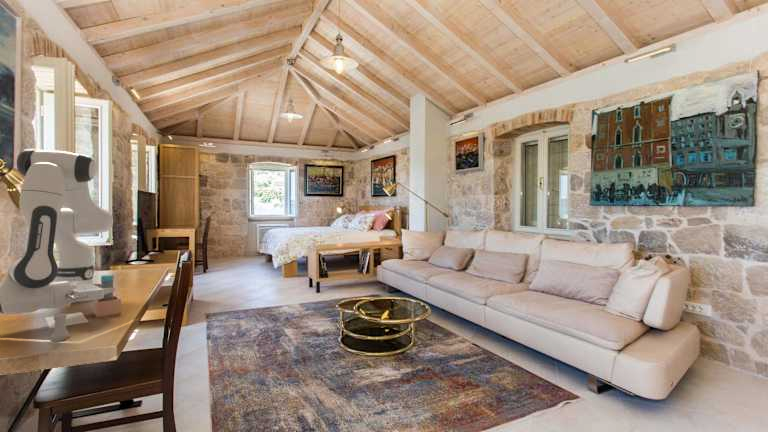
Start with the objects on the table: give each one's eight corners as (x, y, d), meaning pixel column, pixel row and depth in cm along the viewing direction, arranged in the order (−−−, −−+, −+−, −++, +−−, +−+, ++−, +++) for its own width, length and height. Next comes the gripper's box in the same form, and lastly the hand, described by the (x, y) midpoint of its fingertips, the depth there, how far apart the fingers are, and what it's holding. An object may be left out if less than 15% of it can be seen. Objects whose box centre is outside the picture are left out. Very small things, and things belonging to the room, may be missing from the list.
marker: (98, 314, 137) (98, 276, 136) (104, 311, 140) (104, 274, 140) (109, 314, 137) (110, 276, 137) (115, 311, 141) (116, 274, 141)
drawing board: (37, 319, 132) (37, 317, 132) (83, 312, 141) (83, 310, 141) (41, 333, 118) (41, 331, 118) (93, 324, 128) (93, 322, 128)
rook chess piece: (58, 337, 115) (58, 311, 115) (73, 337, 115) (73, 311, 115) (46, 343, 110) (46, 316, 110) (62, 342, 111) (62, 316, 111)
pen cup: (93, 314, 139) (93, 298, 139) (116, 310, 144) (116, 295, 144) (96, 318, 134) (96, 302, 134) (120, 314, 139) (120, 298, 139)
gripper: (71, 289, 122) (120, 282, 133) (53, 281, 134) (100, 275, 145) (71, 308, 122) (120, 300, 133) (53, 298, 134) (100, 291, 145)
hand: (109, 287), depth 139 cm, fingers open, 8 cm apart
